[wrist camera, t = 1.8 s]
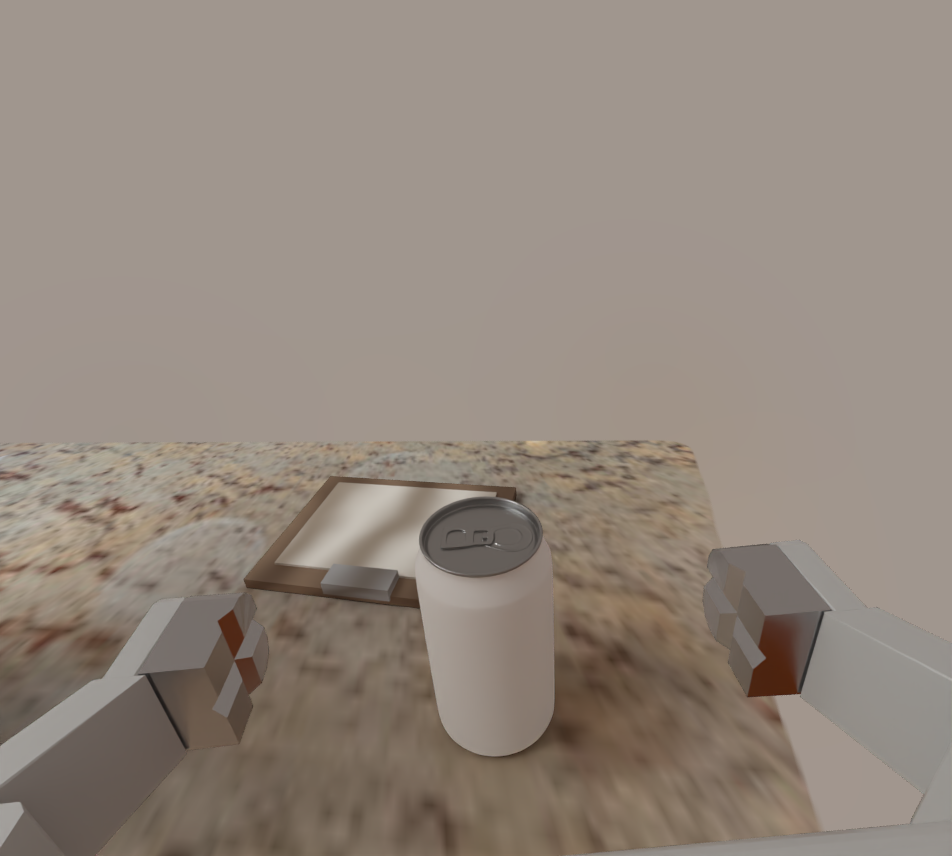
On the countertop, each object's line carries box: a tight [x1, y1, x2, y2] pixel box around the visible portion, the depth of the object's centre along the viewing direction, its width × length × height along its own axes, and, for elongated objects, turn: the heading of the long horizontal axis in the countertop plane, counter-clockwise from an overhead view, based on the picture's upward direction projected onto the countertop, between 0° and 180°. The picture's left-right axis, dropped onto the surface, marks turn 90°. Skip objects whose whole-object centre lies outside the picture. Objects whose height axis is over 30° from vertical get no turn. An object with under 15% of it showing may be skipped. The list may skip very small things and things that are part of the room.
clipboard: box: [244, 476, 516, 608], centre depth 43 cm, size 18×14×2 cm
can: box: [415, 496, 555, 756], centre depth 27 cm, size 6×6×12 cm
